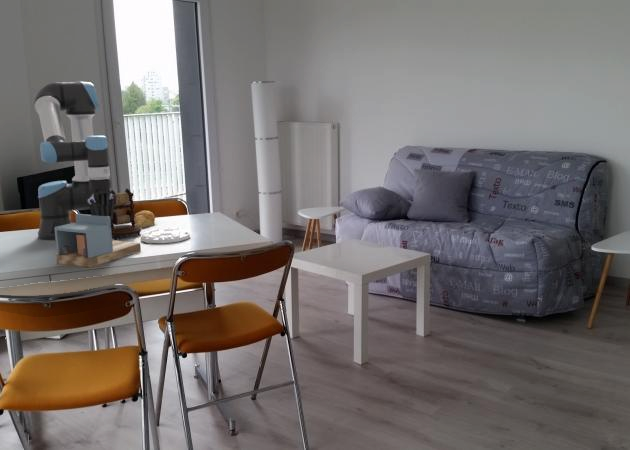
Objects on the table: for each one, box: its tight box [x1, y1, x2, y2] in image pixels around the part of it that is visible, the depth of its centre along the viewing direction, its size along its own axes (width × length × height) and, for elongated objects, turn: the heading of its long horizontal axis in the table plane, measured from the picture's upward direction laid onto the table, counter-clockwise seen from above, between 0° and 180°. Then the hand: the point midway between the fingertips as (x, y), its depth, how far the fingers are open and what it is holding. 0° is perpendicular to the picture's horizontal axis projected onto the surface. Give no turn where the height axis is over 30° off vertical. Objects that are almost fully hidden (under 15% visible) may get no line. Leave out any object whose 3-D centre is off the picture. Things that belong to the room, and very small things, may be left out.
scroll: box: [110, 188, 142, 240], centre depth 269 cm, size 15×15×20 cm
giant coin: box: [140, 227, 190, 244], centre depth 263 cm, size 20×20×3 cm
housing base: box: [55, 239, 142, 268], centre depth 234 cm, size 16×26×6 cm, turn 154°
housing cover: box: [54, 213, 113, 258], centre depth 227 cm, size 16×11×13 cm
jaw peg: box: [76, 233, 87, 255], centre depth 228 cm, size 4×4×10 cm
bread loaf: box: [134, 209, 156, 229], centre depth 293 cm, size 21×10×8 cm, turn 2°
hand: (105, 240), depth 236 cm, fingers closed
